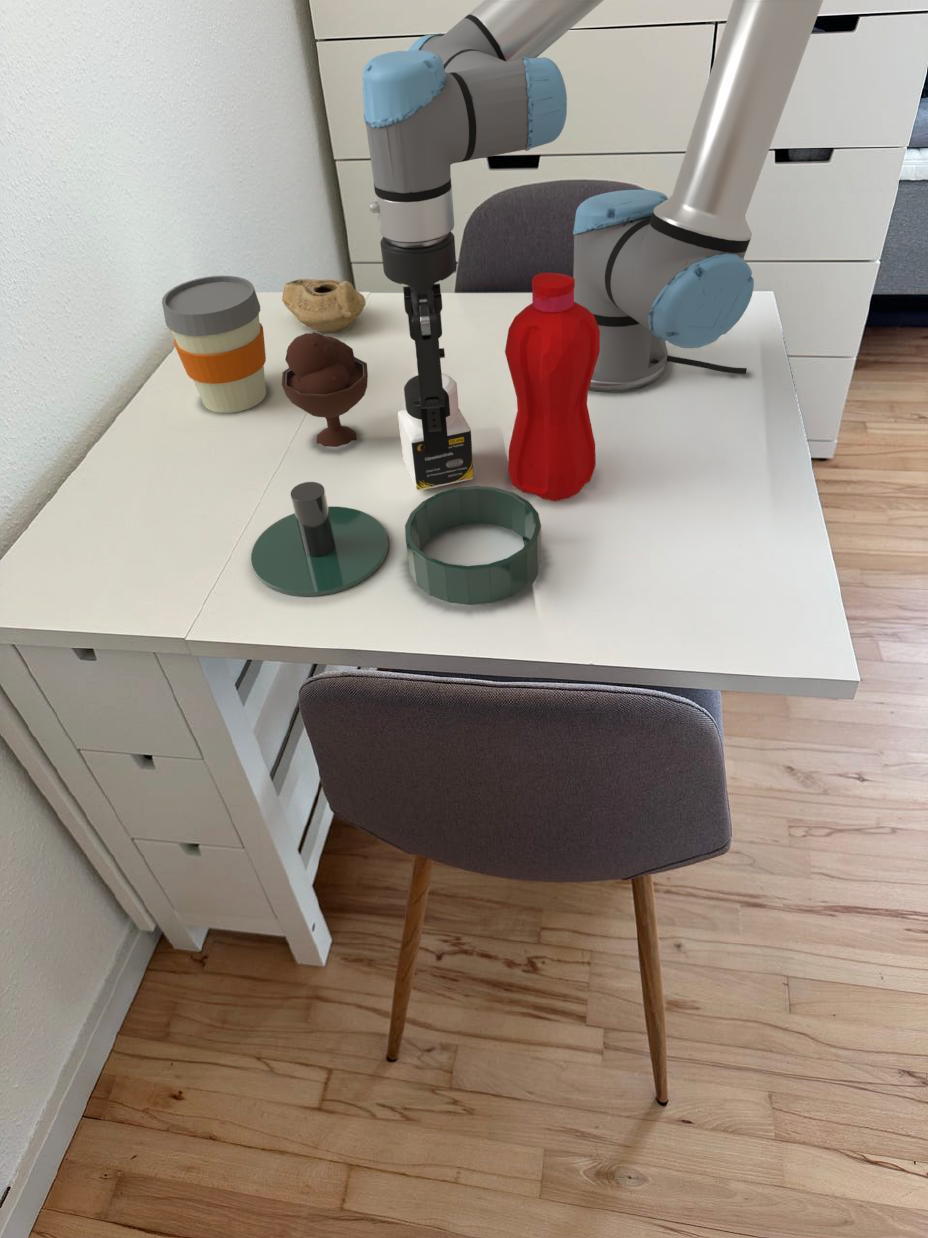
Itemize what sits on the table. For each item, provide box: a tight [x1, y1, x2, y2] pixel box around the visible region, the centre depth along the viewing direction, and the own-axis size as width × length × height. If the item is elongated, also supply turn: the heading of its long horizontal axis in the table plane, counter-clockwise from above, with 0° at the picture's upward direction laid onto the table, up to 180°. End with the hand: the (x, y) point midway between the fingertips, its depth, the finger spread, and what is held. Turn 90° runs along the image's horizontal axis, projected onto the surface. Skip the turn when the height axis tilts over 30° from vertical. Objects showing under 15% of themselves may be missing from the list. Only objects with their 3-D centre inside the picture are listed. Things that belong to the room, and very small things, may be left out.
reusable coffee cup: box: [161, 275, 267, 414], centre depth 123 cm, size 13×13×15 cm
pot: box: [404, 485, 542, 606], centre depth 97 cm, size 14×14×5 cm
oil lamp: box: [281, 278, 367, 333], centre depth 141 cm, size 11×15×8 cm
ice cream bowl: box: [281, 332, 369, 448], centre depth 113 cm, size 11×11×15 cm
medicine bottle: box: [397, 372, 474, 492], centre depth 106 cm, size 7×7×12 cm
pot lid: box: [250, 481, 389, 597], centre depth 98 cm, size 15×15×9 cm
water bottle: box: [504, 272, 600, 502], centre depth 101 cm, size 9×11×25 cm
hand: (434, 430), depth 106 cm, fingers closed on medicine bottle, 8 cm apart
